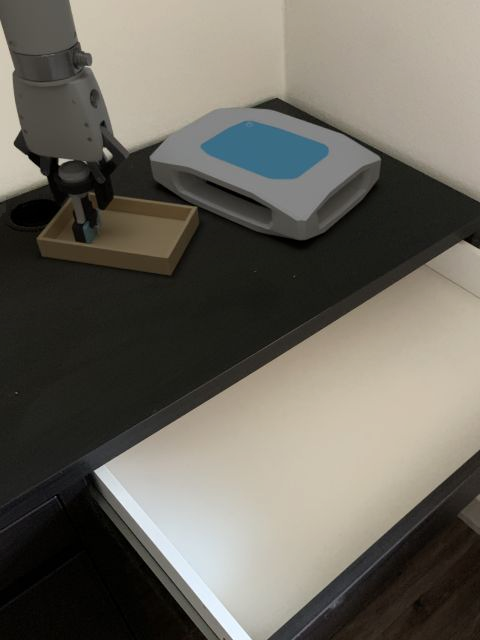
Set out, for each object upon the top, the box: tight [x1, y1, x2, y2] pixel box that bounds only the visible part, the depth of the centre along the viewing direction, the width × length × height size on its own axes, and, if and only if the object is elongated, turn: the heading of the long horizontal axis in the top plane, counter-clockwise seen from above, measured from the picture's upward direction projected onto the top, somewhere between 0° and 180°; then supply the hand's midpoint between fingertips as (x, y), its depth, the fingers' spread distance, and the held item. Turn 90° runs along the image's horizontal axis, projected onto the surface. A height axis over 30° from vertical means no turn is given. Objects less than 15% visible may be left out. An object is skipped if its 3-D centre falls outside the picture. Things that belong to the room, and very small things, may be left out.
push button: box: [53, 160, 102, 244], centre depth 88 cm, size 7×5×10 cm
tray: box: [35, 191, 200, 277], centre depth 91 cm, size 18×12×3 cm
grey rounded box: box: [149, 106, 382, 241], centre depth 99 cm, size 21×28×6 cm
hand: (84, 200), depth 88 cm, fingers closed on push button, 5 cm apart
